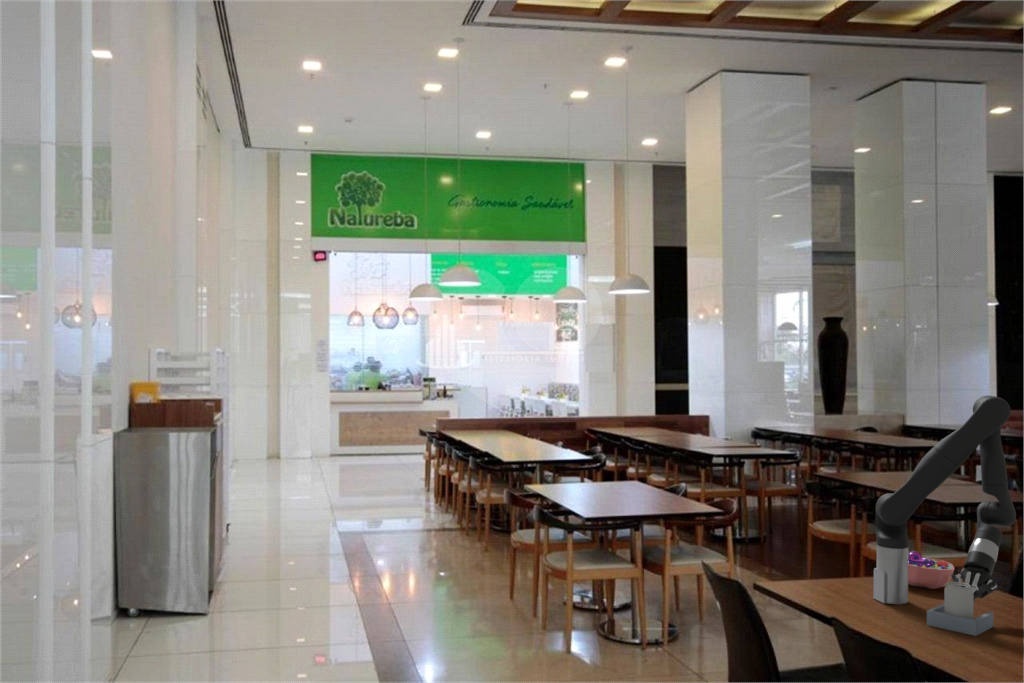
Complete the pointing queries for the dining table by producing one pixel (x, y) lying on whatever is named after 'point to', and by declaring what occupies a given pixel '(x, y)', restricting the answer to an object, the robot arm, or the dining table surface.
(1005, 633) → the dining table surface
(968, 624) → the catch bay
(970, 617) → the can
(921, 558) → the cell model
